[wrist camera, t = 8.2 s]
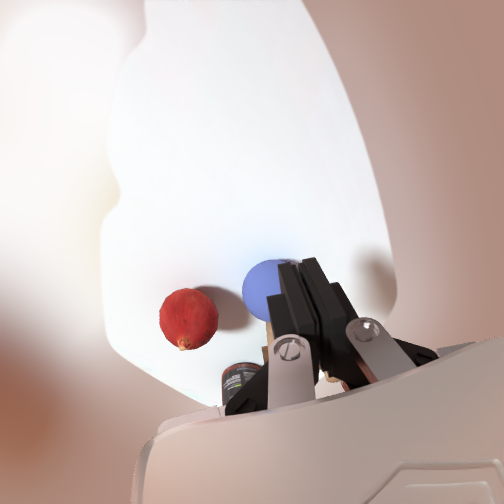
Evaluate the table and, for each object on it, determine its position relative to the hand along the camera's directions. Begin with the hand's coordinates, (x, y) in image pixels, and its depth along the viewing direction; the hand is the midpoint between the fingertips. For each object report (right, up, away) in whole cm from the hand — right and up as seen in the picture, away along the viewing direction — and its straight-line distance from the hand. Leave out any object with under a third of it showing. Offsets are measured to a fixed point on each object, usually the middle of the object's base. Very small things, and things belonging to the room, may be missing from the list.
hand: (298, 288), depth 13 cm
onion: (-9, -3, +18) cm, 20 cm away
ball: (0, -2, +15) cm, 15 cm away
